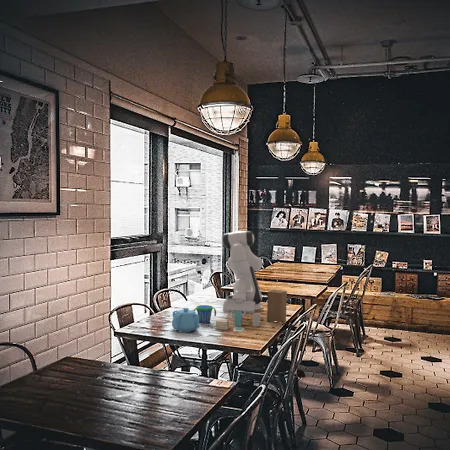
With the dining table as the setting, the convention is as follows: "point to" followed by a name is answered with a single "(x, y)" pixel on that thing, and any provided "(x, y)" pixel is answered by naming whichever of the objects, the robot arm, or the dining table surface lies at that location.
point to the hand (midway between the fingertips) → (238, 318)
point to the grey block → (256, 319)
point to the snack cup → (205, 313)
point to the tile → (238, 329)
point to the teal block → (237, 318)
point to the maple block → (222, 324)
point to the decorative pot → (185, 320)
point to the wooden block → (276, 305)
